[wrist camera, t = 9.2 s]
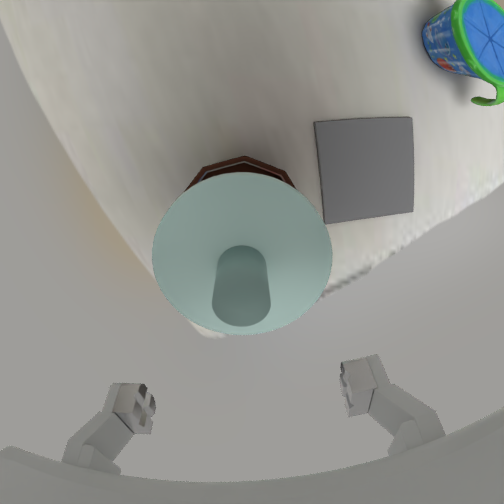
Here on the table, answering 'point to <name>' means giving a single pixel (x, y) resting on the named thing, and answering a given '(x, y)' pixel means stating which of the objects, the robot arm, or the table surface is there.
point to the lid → (242, 254)
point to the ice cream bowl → (241, 170)
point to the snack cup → (470, 43)
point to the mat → (365, 167)
